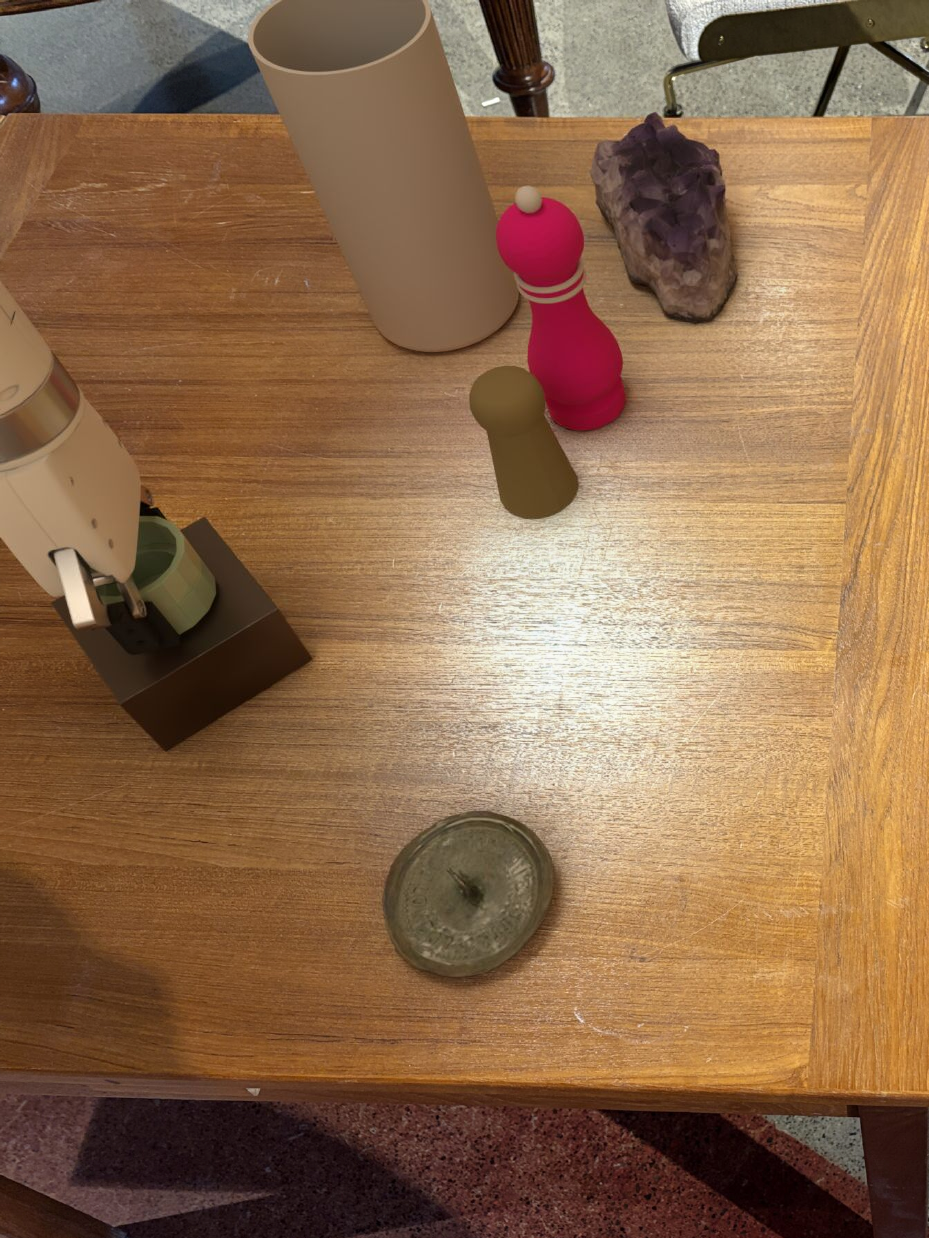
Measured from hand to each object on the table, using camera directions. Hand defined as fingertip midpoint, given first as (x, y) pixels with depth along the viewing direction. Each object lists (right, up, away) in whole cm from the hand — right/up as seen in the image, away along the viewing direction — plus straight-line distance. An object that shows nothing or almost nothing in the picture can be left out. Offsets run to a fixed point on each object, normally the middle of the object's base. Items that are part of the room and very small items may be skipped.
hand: (158, 598), depth 84 cm
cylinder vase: (+10, +26, +26) cm, 38 cm away
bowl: (0, 0, +1) cm, 1 cm away
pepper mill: (+24, +17, +19) cm, 35 cm away
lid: (+23, -19, -5) cm, 30 cm away
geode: (+30, +32, +29) cm, 53 cm away
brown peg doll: (+21, +9, +14) cm, 27 cm away
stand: (0, -4, +6) cm, 7 cm away
